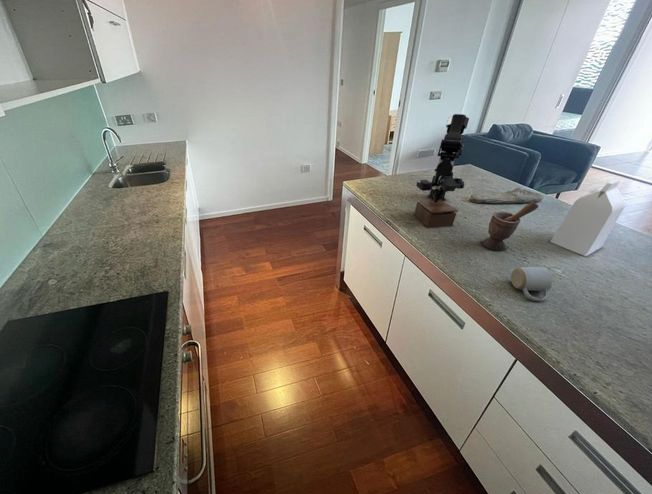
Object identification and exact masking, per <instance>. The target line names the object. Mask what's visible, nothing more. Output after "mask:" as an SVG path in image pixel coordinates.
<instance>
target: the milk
mask: <svg viewBox="0 0 652 494" xmlns="http://www.w3.org/2000/svg"><path fill="white" fill-rule="evenodd" d="M620 182H621V180H618V179H613V180H610V181H607V182H606V183H605V185H604V186H603V187H602V188H600V187H596V188H594V189H591V190H589V191H588V192H589V193H588V194H585V195H582V196H580V197H578V198H577V199H576V200H575V201H574V202H573V204H572V206H571V207H570V209H569V211H568V212H567V214H566V215H565V217H564V218H563V220H562V222H561V224H560V225H559V227H558V228H557V230H556V232H554V235H553V237H552V238H551V239H550V243H552V244H554V245H556V246H558V247H561V248H564V249H567V250H569V251H572V252H574V253H576V254H579V255H581V256H584V257H587V256H589V255H591V254H592V253H595V252H596V251H597V250H599V249H601V248H602V247H603V245H604V243H605V241H606V240H607V238H608V237H609V236H610V233H611V231H612V229H613V228H614V226H615V225H616V223H617V221H618V219H619V218H620V216H621V214H622V213H623V211H624V209H625V207H626V206H627V203H626V202H627V201H626V200H625V197H624V196H623V195H622V194H621V191H620V190H619V189H618V185H619V184H620Z"/></svg>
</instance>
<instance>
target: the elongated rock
mask: <svg viewBox="0 0 652 494" xmlns="http://www.w3.org/2000/svg"><path fill="white" fill-rule="evenodd" d="M543 199H544V195H543V194H541V193H538V192H534V191H532V190H529V189H526V188H525V189H524V188H521V187H516V188H514V189H512V190H507V191H505V192H481V193H478V192H476V193H473V194H471V195H470V199H469V200H470V201H471V202H472V203H475V204H481V203H482V204H514V203H515V204H516V203H517V204H525V203H527V204H529V203H531V202H535V203H537V202H538V203H539V202H541V201H542V200H543Z"/></svg>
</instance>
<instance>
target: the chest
mask: <svg viewBox="0 0 652 494" xmlns="http://www.w3.org/2000/svg"><path fill="white" fill-rule="evenodd" d="M413 215H414V216H415V217H416V218H417V219H418V220H419V221H421V223H423V225H425V227H426V228H427V229H428V228H441V227H453V225H454V222H455V219H456V216H457V212H446V213H443V214H431V213H430V212H429V211H428V210H427V209H426V208H424V207H423V206H422V205H420V204H419V203H417V202H416V205H415V209H414V213H413Z"/></svg>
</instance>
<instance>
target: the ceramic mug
mask: <svg viewBox="0 0 652 494" xmlns="http://www.w3.org/2000/svg"><path fill="white" fill-rule="evenodd" d="M510 281H511V284H512V286H513V287H514V288H516V289H517V290H520V291H522V292H523V294H524V295H525V297H526V298H527V299H528V300H531V301H533V302H542V301H544V300H546V298H547V297H548V291H550V289H551V288H552V286H553V275H552V273H551V271H550V270H549V269H548V268H547V267H546V266H545V267H544V266H530V267H529V266H523V267H521V266H520V267H515V268H514V269H513V270H512V271H511V274H510ZM529 291H531V292H542V294H543V297H542V298H537V297H534V296H533V295H531V294H530V293H529Z"/></svg>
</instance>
